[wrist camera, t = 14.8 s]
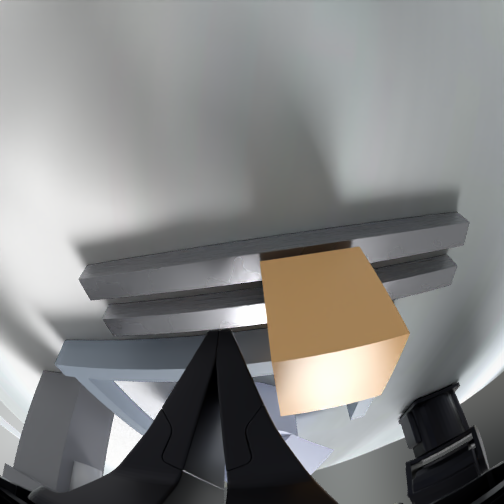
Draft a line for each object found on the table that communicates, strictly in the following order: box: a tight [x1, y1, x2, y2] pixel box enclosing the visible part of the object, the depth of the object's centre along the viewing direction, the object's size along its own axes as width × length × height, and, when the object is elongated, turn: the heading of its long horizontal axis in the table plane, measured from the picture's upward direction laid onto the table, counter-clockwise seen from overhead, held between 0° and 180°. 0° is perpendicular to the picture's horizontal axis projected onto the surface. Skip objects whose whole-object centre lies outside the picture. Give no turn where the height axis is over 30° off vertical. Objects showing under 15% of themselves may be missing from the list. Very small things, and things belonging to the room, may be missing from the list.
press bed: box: [2, 328, 374, 493], centre depth 12 cm, size 26×12×12 cm, turn 98°
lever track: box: [79, 212, 469, 336], centre depth 11 cm, size 17×4×1 cm, turn 98°
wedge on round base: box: [224, 382, 334, 482], centre depth 17 cm, size 9×7×13 cm
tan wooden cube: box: [260, 247, 410, 416], centre depth 9 cm, size 4×4×5 cm
